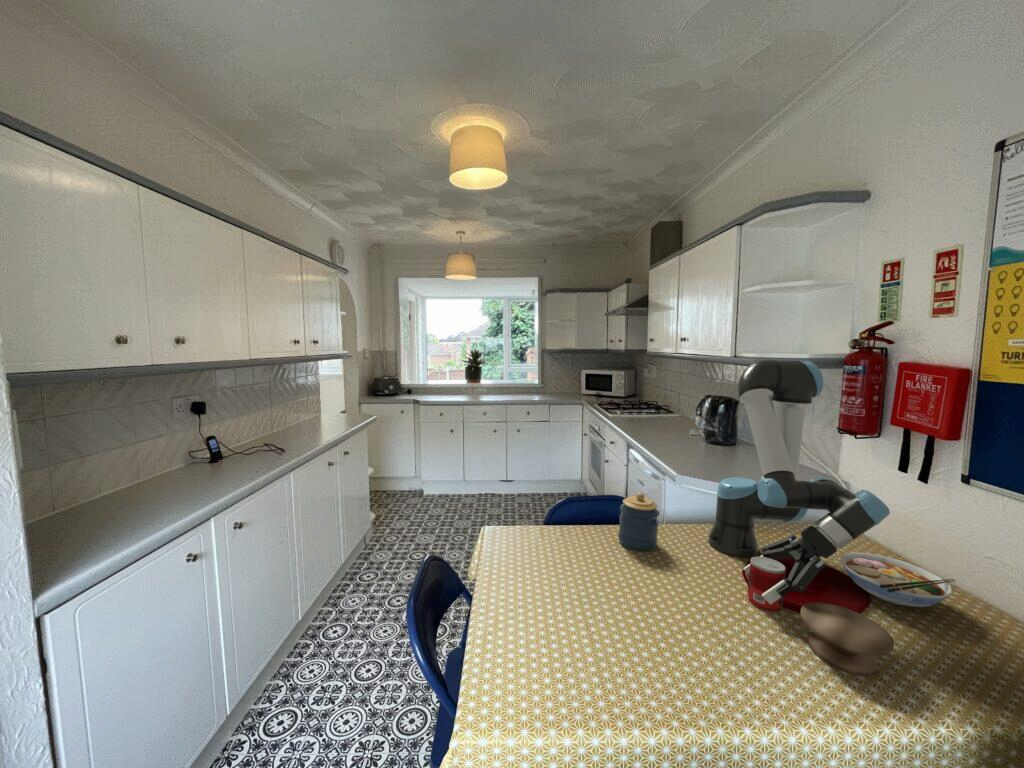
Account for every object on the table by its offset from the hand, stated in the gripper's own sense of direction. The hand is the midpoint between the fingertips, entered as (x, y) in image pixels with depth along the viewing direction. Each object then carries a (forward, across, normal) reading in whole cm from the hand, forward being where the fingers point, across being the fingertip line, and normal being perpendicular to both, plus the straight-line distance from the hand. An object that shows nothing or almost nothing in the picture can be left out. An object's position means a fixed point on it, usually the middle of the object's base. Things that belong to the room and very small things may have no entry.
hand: (755, 585), depth 110 cm
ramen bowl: (-24, +12, -31) cm, 41 cm away
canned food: (+2, 0, -5) cm, 5 cm away
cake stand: (-5, -17, -12) cm, 21 cm away
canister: (+23, +28, +16) cm, 39 cm away
